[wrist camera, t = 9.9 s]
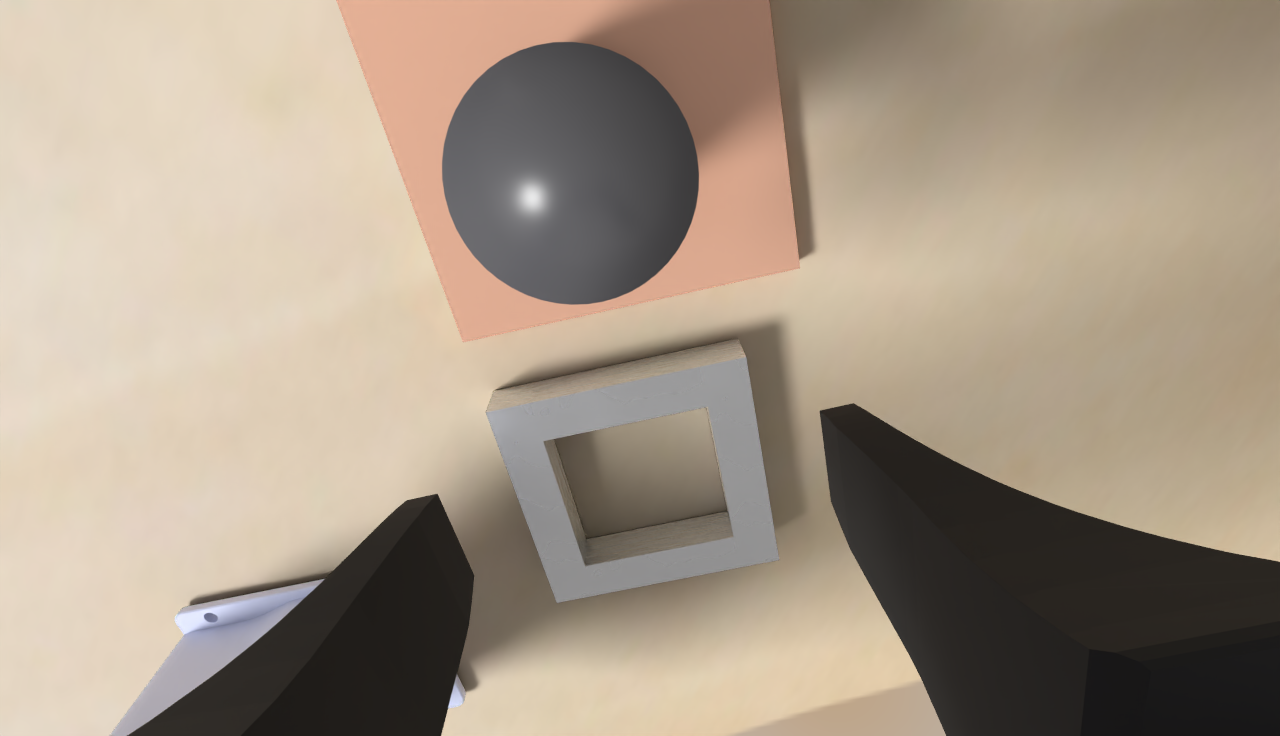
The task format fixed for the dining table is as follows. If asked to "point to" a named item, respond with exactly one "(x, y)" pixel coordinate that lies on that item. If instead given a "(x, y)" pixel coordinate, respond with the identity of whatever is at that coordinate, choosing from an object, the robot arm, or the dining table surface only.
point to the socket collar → (620, 398)
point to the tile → (646, 34)
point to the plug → (570, 173)
